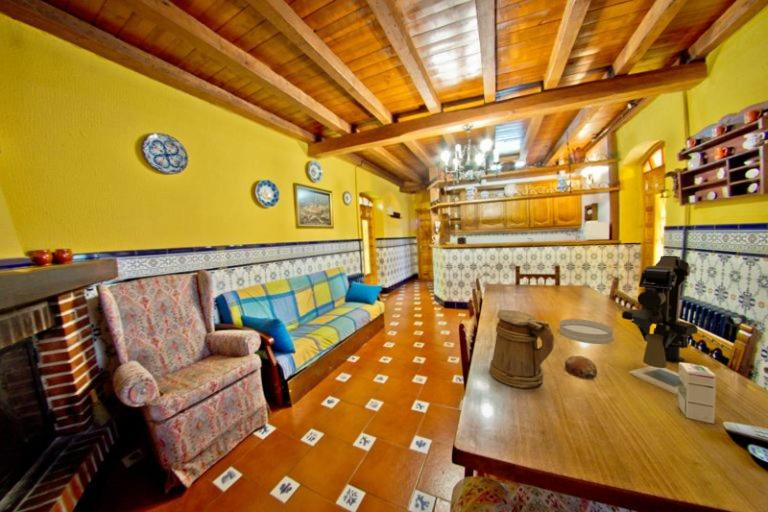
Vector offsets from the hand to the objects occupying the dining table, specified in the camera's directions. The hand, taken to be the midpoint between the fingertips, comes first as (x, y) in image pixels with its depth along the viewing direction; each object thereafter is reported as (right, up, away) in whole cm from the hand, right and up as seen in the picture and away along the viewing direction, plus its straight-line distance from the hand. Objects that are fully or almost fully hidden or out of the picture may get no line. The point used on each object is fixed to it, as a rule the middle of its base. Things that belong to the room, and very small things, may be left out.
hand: (655, 343), depth 94 cm
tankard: (-46, -15, +6) cm, 49 cm away
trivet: (+3, -13, -1) cm, 13 cm away
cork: (0, -8, +1) cm, 8 cm away
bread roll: (-22, -14, +7) cm, 27 cm away
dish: (+6, -10, +40) cm, 42 cm away
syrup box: (-7, -15, -18) cm, 24 cm away
